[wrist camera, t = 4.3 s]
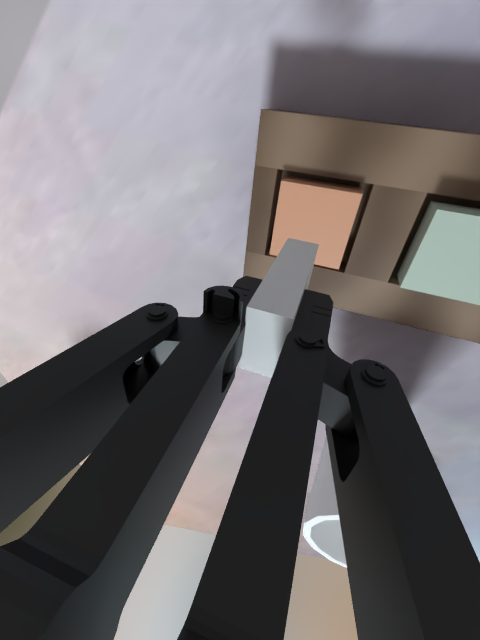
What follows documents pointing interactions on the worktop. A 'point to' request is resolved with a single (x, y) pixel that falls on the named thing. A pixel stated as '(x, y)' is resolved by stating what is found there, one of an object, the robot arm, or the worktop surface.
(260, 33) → the worktop surface
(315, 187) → the terracotta tile
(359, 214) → the walnut board
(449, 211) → the sage tile
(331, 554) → the foam cup
